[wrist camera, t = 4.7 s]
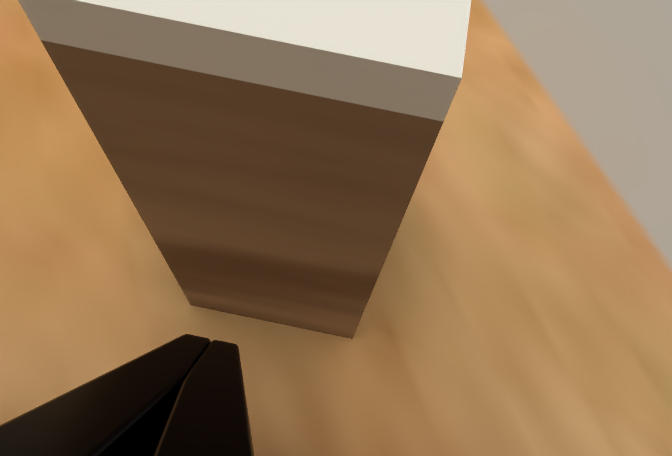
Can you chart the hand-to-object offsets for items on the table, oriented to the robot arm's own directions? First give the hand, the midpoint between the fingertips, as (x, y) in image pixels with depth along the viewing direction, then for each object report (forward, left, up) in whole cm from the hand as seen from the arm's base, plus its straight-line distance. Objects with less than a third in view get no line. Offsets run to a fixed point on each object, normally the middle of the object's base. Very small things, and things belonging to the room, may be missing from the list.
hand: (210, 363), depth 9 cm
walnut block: (+3, +5, -8) cm, 9 cm away
